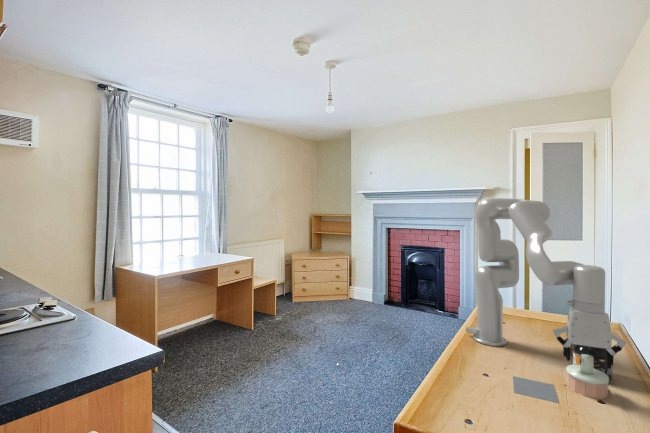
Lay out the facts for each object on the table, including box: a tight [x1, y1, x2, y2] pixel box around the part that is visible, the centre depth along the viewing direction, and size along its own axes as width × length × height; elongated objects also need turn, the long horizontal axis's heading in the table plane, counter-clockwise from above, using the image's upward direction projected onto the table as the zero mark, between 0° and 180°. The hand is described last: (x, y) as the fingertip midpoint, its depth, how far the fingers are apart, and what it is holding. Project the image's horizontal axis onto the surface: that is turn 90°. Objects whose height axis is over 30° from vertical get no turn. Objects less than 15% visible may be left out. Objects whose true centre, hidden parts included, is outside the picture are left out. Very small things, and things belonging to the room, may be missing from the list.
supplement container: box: [571, 344, 614, 381], centre depth 108 cm, size 10×10×12 cm
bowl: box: [566, 373, 609, 400], centre depth 98 cm, size 9×9×5 cm
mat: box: [512, 375, 560, 404], centre depth 98 cm, size 11×11×1 cm
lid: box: [565, 354, 610, 385], centre depth 98 cm, size 10×10×6 cm
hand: (587, 362), depth 98 cm, fingers open, 9 cm apart
